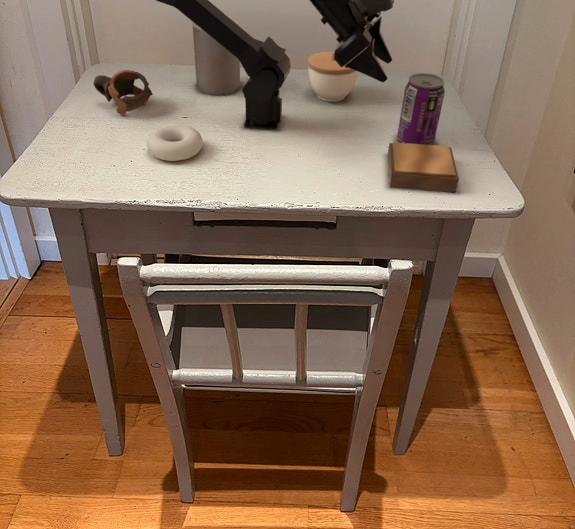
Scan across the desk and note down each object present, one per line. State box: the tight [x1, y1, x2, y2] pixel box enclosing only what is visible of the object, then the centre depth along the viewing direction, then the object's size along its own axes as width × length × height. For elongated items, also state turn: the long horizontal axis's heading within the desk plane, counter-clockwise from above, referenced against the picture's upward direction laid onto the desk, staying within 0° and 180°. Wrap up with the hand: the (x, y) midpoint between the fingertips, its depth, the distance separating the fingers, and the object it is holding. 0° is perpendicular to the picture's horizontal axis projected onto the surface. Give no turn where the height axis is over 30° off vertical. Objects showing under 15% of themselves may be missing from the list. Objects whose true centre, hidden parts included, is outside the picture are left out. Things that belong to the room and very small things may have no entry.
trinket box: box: [307, 51, 358, 103], centre depth 121 cm, size 11×11×9 cm
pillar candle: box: [192, 16, 241, 96], centre depth 121 cm, size 10×10×15 cm
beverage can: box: [396, 72, 446, 145], centre depth 105 cm, size 7×7×12 cm
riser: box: [386, 141, 460, 193], centre depth 98 cm, size 11×11×3 cm
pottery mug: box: [92, 69, 154, 116], centre depth 115 cm, size 12×10×8 cm
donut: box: [146, 124, 204, 162], centre depth 102 cm, size 10×4×10 cm
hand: (388, 70), depth 101 cm, fingers open, 9 cm apart
